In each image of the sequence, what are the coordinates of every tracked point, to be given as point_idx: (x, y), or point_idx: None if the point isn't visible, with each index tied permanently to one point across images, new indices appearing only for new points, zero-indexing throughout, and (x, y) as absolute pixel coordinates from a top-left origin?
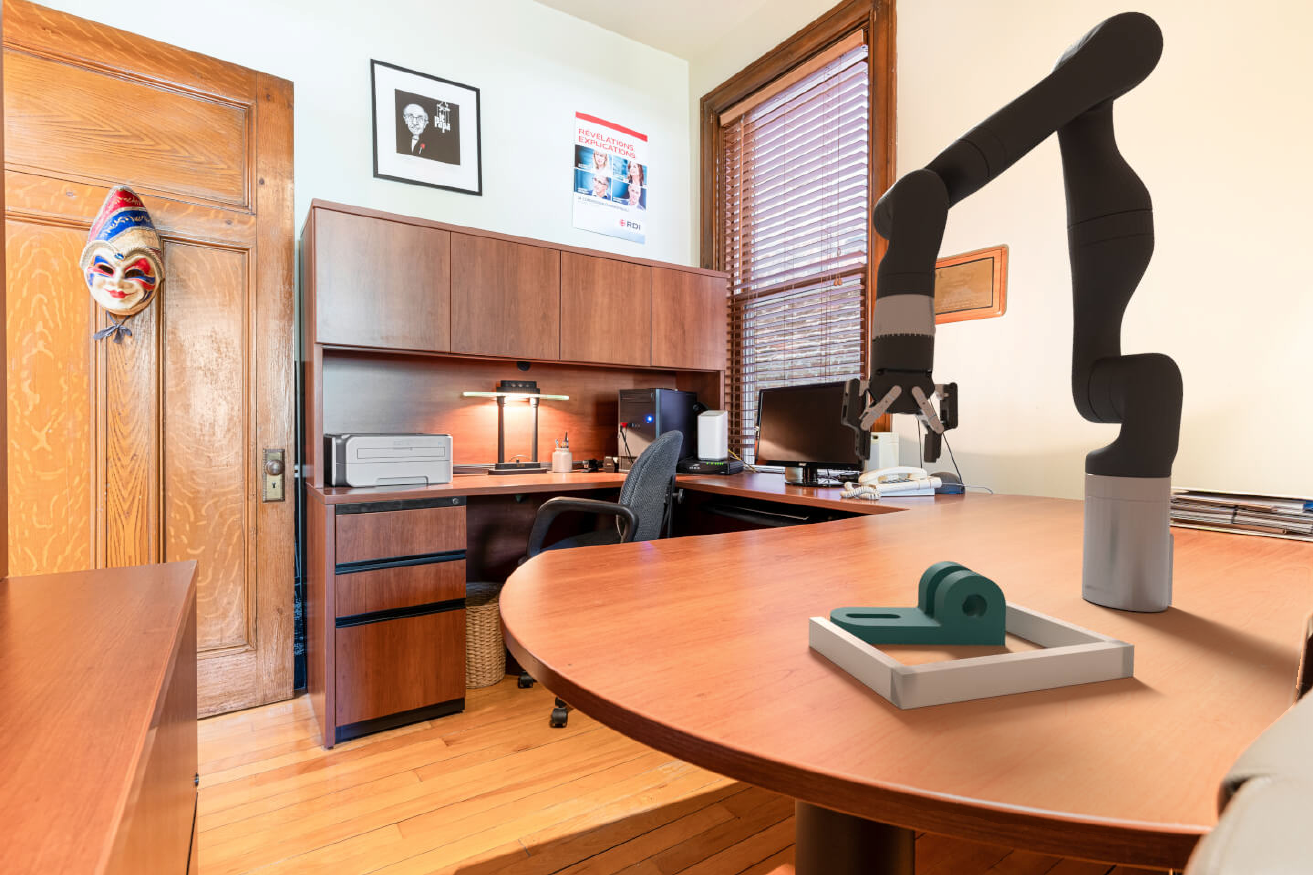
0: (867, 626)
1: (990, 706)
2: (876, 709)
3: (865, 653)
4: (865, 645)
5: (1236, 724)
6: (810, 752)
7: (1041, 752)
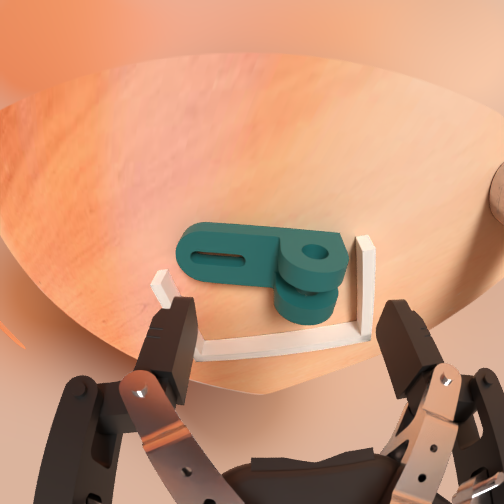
0: (203, 281)
1: None
2: None
3: None
4: None
5: (355, 360)
6: None
7: (246, 372)
